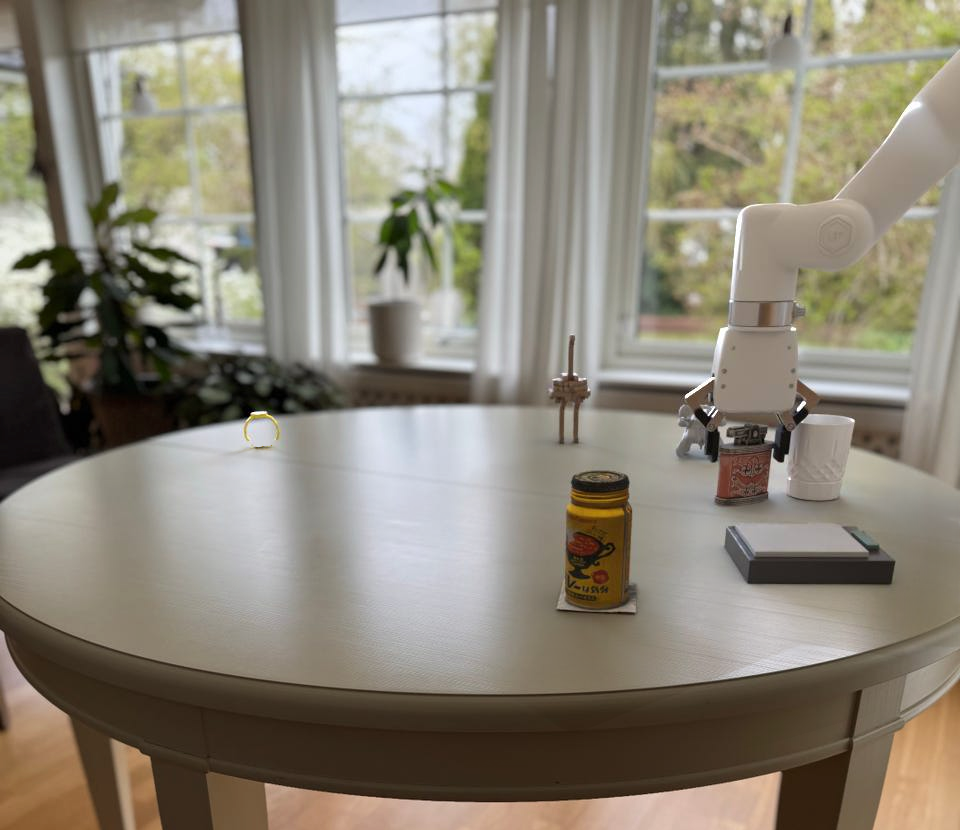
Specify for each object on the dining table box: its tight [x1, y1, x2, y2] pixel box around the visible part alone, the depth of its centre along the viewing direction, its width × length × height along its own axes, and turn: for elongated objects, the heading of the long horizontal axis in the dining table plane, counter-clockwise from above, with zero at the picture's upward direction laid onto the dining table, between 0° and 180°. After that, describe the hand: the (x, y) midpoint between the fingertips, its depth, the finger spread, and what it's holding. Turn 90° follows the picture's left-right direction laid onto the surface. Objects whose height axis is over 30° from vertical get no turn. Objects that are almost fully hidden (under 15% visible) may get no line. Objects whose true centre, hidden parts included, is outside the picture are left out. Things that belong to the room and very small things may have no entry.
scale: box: [724, 522, 896, 585], centre depth 92 cm, size 14×12×3 cm
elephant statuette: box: [675, 404, 728, 459], centre depth 143 cm, size 9×12×8 cm
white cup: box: [785, 413, 856, 502], centre depth 117 cm, size 8×8×10 cm
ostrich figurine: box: [548, 333, 592, 444], centre depth 156 cm, size 17×7×18 cm, turn 1°
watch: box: [243, 411, 281, 442], centre depth 154 cm, size 6×3×6 cm, turn 103°
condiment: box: [556, 470, 638, 613], centre depth 83 cm, size 7×8×12 cm
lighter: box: [714, 422, 774, 507], centre depth 115 cm, size 8×3×10 cm, turn 115°
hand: (745, 459), depth 115 cm, fingers open, 7 cm apart
